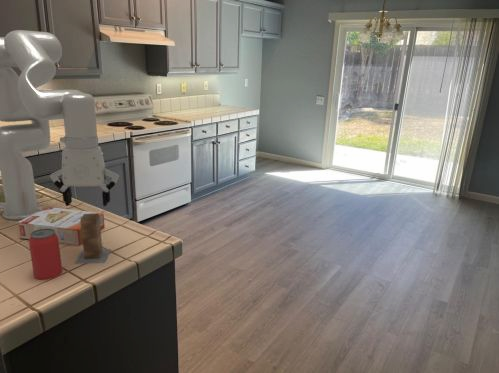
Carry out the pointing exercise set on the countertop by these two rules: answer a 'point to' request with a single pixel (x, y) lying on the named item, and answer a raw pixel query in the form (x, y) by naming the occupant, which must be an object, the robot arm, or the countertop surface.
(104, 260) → the mat
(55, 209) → the cracker box
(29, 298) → the countertop surface
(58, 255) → the beer can
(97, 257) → the walnut block
